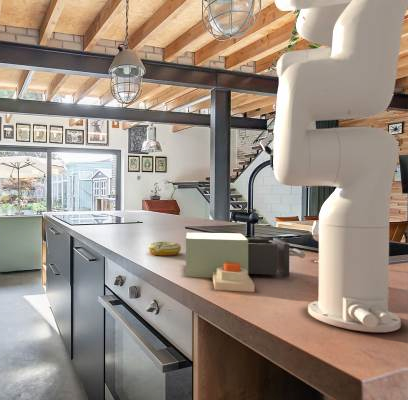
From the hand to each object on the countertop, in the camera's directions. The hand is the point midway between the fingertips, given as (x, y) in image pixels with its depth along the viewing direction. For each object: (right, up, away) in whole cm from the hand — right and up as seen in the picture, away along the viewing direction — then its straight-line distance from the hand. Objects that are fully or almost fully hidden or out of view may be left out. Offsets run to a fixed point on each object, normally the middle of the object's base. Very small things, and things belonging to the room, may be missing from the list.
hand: (293, 169), depth 97 cm
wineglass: (+12, -27, +7) cm, 31 cm away
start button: (-23, -25, -17) cm, 38 cm away
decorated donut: (-32, -27, +23) cm, 48 cm away
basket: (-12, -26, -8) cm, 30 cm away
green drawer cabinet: (-23, -27, -5) cm, 36 cm away
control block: (-23, -28, -17) cm, 40 cm away
